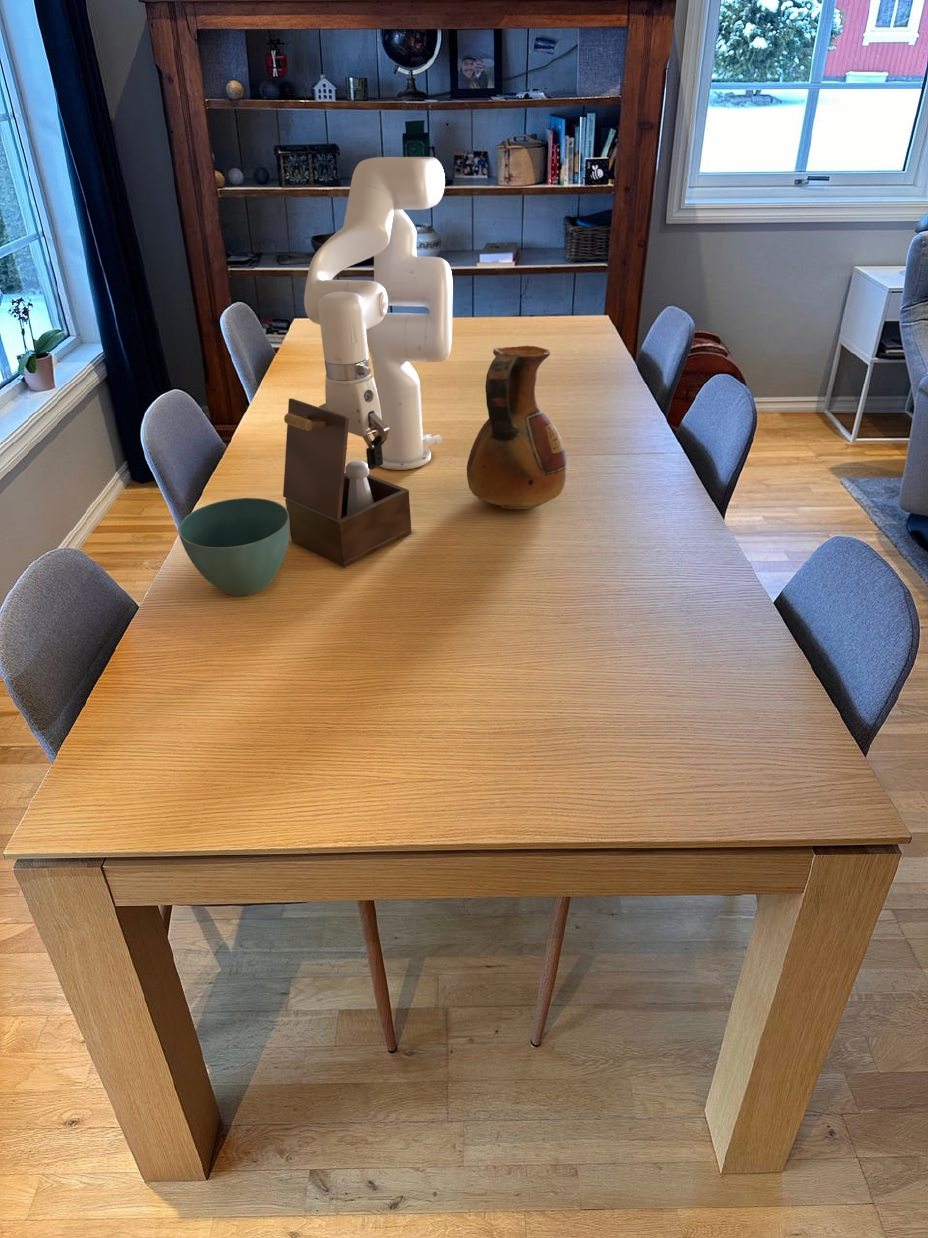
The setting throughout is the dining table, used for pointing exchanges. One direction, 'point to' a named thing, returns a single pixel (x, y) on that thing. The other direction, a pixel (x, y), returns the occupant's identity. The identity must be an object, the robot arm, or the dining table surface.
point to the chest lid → (315, 458)
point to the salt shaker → (358, 486)
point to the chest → (353, 524)
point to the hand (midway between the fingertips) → (357, 459)
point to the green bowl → (237, 543)
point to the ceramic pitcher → (516, 437)
